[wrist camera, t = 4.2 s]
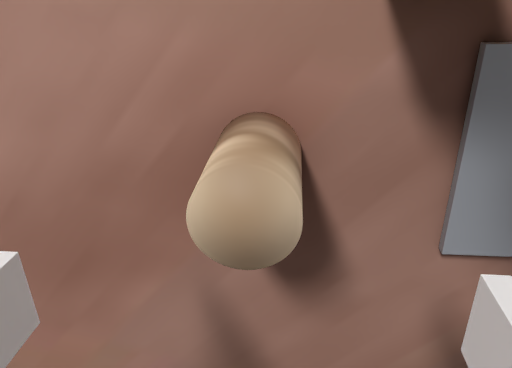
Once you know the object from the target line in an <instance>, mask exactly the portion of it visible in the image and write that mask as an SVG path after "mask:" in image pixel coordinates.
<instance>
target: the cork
mask: <svg viewBox="0 0 512 368" xmlns="http://www.w3.org/2000/svg"><path fill="white" fill-rule="evenodd" d="M186 222H187V227H188V230H189V233H190V235H191V237H192V239H193V241H194V242H195V244H196V245H197V247H198V248H199V249H200V250H201V251H202V252H203V253H204V254H205V255H206V256H208V257H209V258H211V259H212V260H214V261H216V262H217V263H220V264H222V265H224V266H227V267H230V268H235V269H242V270H255V269H261V268H266V267H269V266H272V265H274V264H276V263H278V262H280V261H281V260H283V259H284V258H285V257H287V256H288V255H289V254H290V253H291V252H292V250H293V249H294V248H295V246H296V245H297V243H298V241H299V239H300V236H301V233H302V226H303V213H302V165H301V145H300V142H299V139H298V136H297V134H296V133H295V131H294V130H293V128H292V127H291V126H290V125H289V124H288V123H287V122H285V121H284V120H283V119H281V118H279V117H277V116H275V115H272V114H269V113H263V112H253V113H247V114H244V115H241V116H239V117H237V118H236V119H234V120H232V121H231V122H230V123H229V124H228V125H227V126H226V127H225V129H224V130H223V132H222V133H221V136H220V138H219V140H218V142H217V144H216V146H215V148H214V150H213V152H212V154H211V156H210V158H209V160H208V162H207V164H206V166H205V168H204V171H203V173H202V175H201V177H200V179H199V181H198V183H197V185H196V187H195V189H194V191H193V193H192V195H191V197H190V200H189V202H188V206H187V211H186Z"/></svg>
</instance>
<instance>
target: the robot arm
mask: <svg viewBox="0 0 512 368" xmlns="http://www.w3.org/2000/svg"><path fill="white" fill-rule="evenodd" d="M39 323H40V321H39V318H38V314H37V311H36V308H35V305H34V302H33V298H32V295H31V292H30V289H29V286H28V283H27V279H26V276H25V273H24V270H23V267H22V263H21V260H20V257H19V254H18V252H6V251H0V368H5V367H6V366H7V365H8V364H9V362H10V361H11V360H12V358H13V357H14V356H15V354H16V353H17V352H18V351H19V349H20V348H21V347H22V345H23V344H24V343H25V341H26V340H27V339H28V338H29V336H30V335H31V334H32V332H33V331H34V330H35V328H36V327H37V326H38V325H39ZM461 352H462V354H463V356H464V359H465V361H466V363H467V366H468V368H512V276H507V275H486V274H481V275H480V279H479V283H478V287H477V290H476V294H475V298H474V302H473V306H472V309H471V313H470V317H469V321H468V325H467V328H466V332H465V336H464V340H463V344H462V347H461Z"/></svg>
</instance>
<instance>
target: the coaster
mask: <svg viewBox="0 0 512 368" xmlns="http://www.w3.org/2000/svg"><path fill="white" fill-rule="evenodd" d="M439 250H440V251H441V253H442V254H453V255H481V256H508V257H512V42H481V45H480V49H479V54H478V59H477V64H476V69H475V74H474V79H473V83H472V88H471V93H470V98H469V103H468V108H467V113H466V117H465V122H464V127H463V132H462V137H461V142H460V146H459V151H458V156H457V161H456V166H455V171H454V176H453V180H452V185H451V190H450V195H449V200H448V205H447V210H446V214H445V219H444V224H443V229H442V234H441V239H440V243H439Z"/></svg>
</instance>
